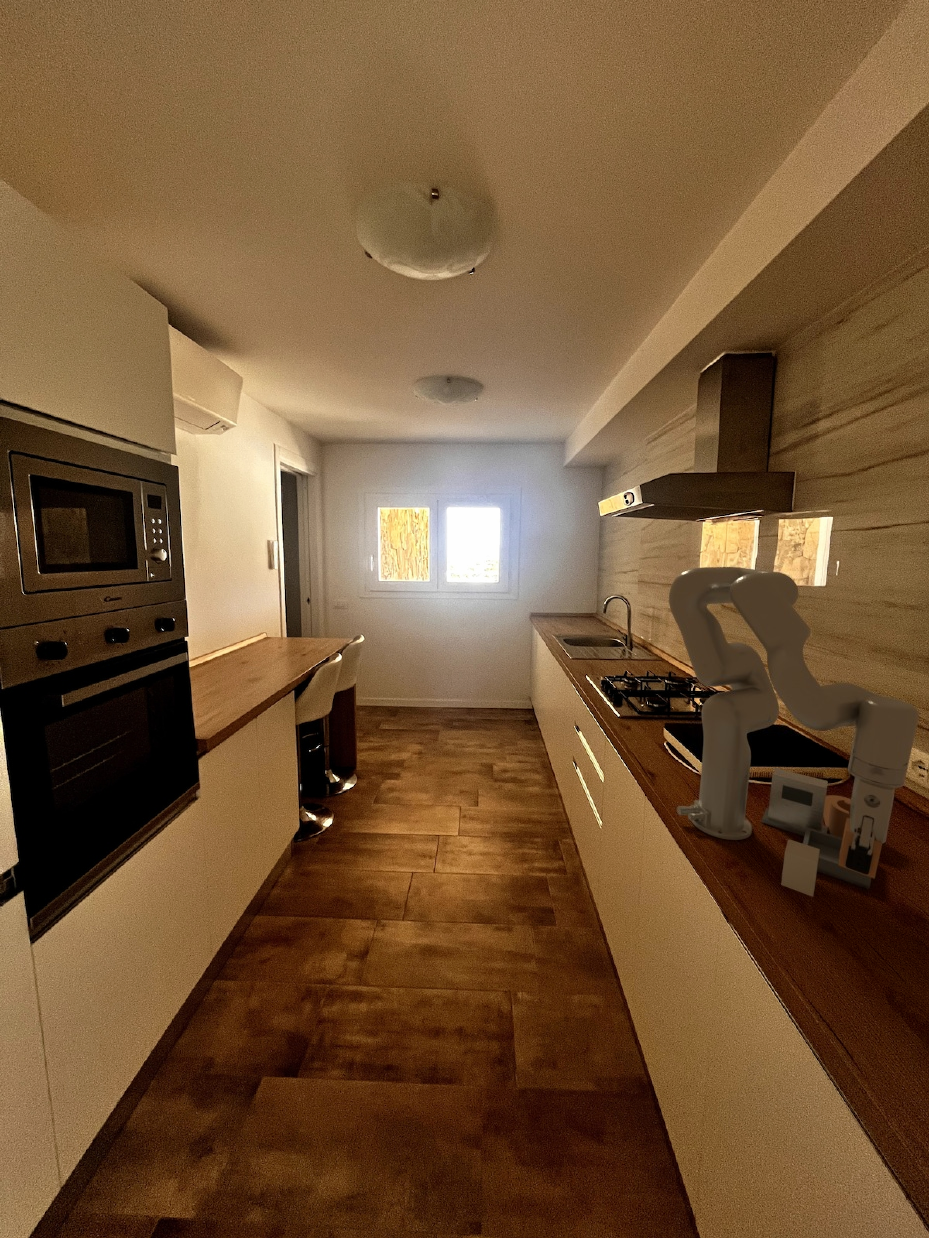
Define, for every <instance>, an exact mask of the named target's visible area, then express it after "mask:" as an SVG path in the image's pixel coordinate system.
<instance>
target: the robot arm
mask: <svg viewBox="0 0 929 1238" xmlns="http://www.w3.org/2000/svg"><path fill="white" fill-rule="evenodd" d="M798 598H799V589H798V585H797V583H796V582H795V581H794V579H793V578H792V577H790V576H789V575H787V574H785V573H782V572H777V571H770V570H769V571H768V570H761V569H753V568H746V567H745V568H744V567H739V566H738V567H737V566H715V567H714V566H713V567H712V566H711V567H710V566H708V567H695V568H691V569H688V570H687V569H686V570H685V571H683V572H681V573H680V574H678V576H677V577H676V578H675V579H674V580H673V582H672V584H671V586H670V588H669V593H668V603H669V608H670V611H671V614H672V617H673V618H674V621H675V622H676V625H677V627H678V629H679V631H680V634H681V637H682V641H683V643H684V646H685V649H686V651H687V655H688V658H689V660H690V664H691V666H692V669H693V672H694V674H695V677H696V679H697V680H698V682H699V683H700V684H702V685H703V686H704V687H705V686H706V687H709V688H711V687H713V688H715V687H723V686H729V685H730V688H731V690H727V691H721V692H718V693H716V694H712V695H711V696H710V697H709V698H707V699H706V700H705V702H703V705H702V707H701V722H702V731H703V732H702V733H703V746H702V759H701V760H702V761H701V771H700V772H701V774H700V785H699V794H698V799H694V802H693V804H690V805H689V806H686V805H677V807H676V811H677V814H678V815H679V816H687V818H688V820H690V821H691V823H692V824H693V825H694V827H696V828H697V829H698V830H700V831H701V832H703V833H705V834H707V835H709V836H712V837H715V838H718V839H722V840H728V841H738V840H739V841H740V840H744V839H748V838H749V837H750V836H751V835H752V831H753V827H752V824H751V822H750V821H749V820H748V819H747V818H746V813H747V811H746V809H747V802H748V801H747V800H748V792H749V791H748V790H749V782H750V772H751V771H750V770H751V762H752V761H751V760H752V752H751V747H750V745H749V741H748V738H747V737H748V735H747V734H748V733H751V732H756V731H759V730H761V729H766V728H769V727H770V726H773V725H774V724H775V723H776V722H777V720H778V718H779V715H780V706H779V701H778V698H779V699H780V700H781V702H782V703H783V704H784V705H785V707H786V709H787V711H789V712H790V714H791V715H792V716H793V717H794V719H796V720H797V721H798V722H799V724H801V725H802V726H804V727H806V728H808V729H809V730H813V731H817V732H818V731H819V732H826V731H830V730H834V729H839V728H842V727H855V729H854V736H853V742H852V745H851V752H850V757H849V761H848V766H847V772H848V773H849V774H850V775H851V776H853V777H854V782H853V787H852V793H851V798H850V799H851V806H850V831H851V832H852V833H853V839H852V845H851V846H849V849H848V854H847V859H846V865H845V866H846V867H847V868H849V869H852V870H855V871H858V872H860V873H863V874H866V875H868V874H869V870H870V865H871V861H872V856H873V853H872V849H873V843H874V840H875V839H874V838H875V837H876V840H877V841H879V842H880V843H882V844H884V843H886V842H887V841H886V840H887V836H888V829H889V825H890V819H891V816H892V810H893V806H894V805H893V804H894V798H895V790H896V789H898V788H902V787H903V786H905V781H906V776H907V772H908V768H909V763H910V758H911V753H912V749H913V745H914V741H915V736H916V731H917V728H918V722H919V719H920V718H919V716H920V714H919V713H920V712H919V711H918V709H917V708H916V707H915V706H914V705H913V704H911V703H909V702H907V701H904V700H902V699H898V698H893V697H888V696H882V695H880V694H877V693H874V692H872V691H870V690H868V689H866V688H863V687H861V686H859V685H856V684H853V683H848V682H838V683H836V682H835V683H831V684H827V685H820V684H819V682H818V680H817V679H816V678H815V677H814V675H813V674H812V673H811V671H810V669H809V668H808V666H807V664H806V661H805V658H804V646H805V644H806V643H807V640H808V639H809V638H810V635H811V628H810V626H809V625H808V624H807V622H805V620H804V619H803V618H802V616H801V615H800V614H799V612H798V611H797V610H796V609H795V608H794V607H793V606H794V605H796V604H795V603H797V600H798ZM715 604H716V605H717V604H733V606H734V608H735V609H736V611H738V613H739V615H740V616H741V617H742V619H743V620H744V622H745V623H746V624H747V625H748V627H749V628H750V630H751V631H752V633H753V634H754V636H756V638H757V640H758V641H759V642H760V643H761V645H762V646H763V647H764V649H765V651H766V665H767V669H766V667H765V663H764V661H763V659H762V657H761V656H760V655H759V653H758V652H757V651H756V650H755V649H754V648H753V647H752V646H750V645H748V644H746V643H744V642H737V641H733V642H728V641H727V639H726V637H725V634H724V632H723V629H722V626H721V623H720V622H719V620H718V619H717V617H716V616H715V615H714V614H713V613H712V612H711V611H710V610H709V609H708V605H715ZM767 670H768V671H767ZM775 692H776V693H777V695H778V698H777V695H776V693H775ZM857 829H860V830H861V832H858V831H857ZM871 833H872V836H870V835H871ZM857 836H859V837H860V840H857Z"/></svg>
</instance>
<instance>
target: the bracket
mask: <svg viewBox="0 0 929 1238" xmlns="http://www.w3.org/2000/svg"><path fill="white" fill-rule="evenodd" d="M850 806H851V798H849V797H845V796H841V795H834V794H833V795H829V794H828V795H826V799H825V807H824V815H823V820H824V823H825V826H828V828H827V833H828V834H830V835H833V836H837V837H840V838H843V834H844V829H845V824H846V819H847V818H849V819H850Z"/></svg>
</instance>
